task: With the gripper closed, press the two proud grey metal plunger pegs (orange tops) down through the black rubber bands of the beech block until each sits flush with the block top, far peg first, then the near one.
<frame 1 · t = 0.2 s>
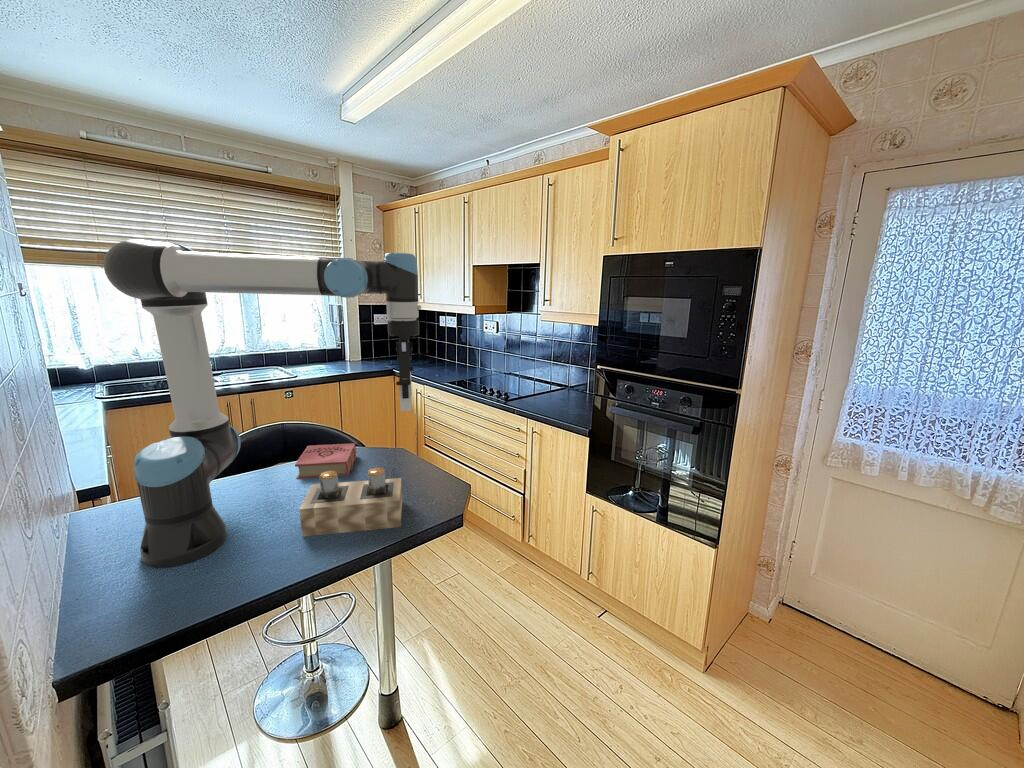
hand: (406, 402, 110), 27 cm above the table, fingers open, 13 cm apart
peg right: (377, 483, 106), point 9 cm above the table, slide at 0.0 cm
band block: (356, 517, 107), on the table
book: (329, 468, 135), on the table
peg left: (329, 487, 104), point 9 cm above the table, slide at 0.0 cm
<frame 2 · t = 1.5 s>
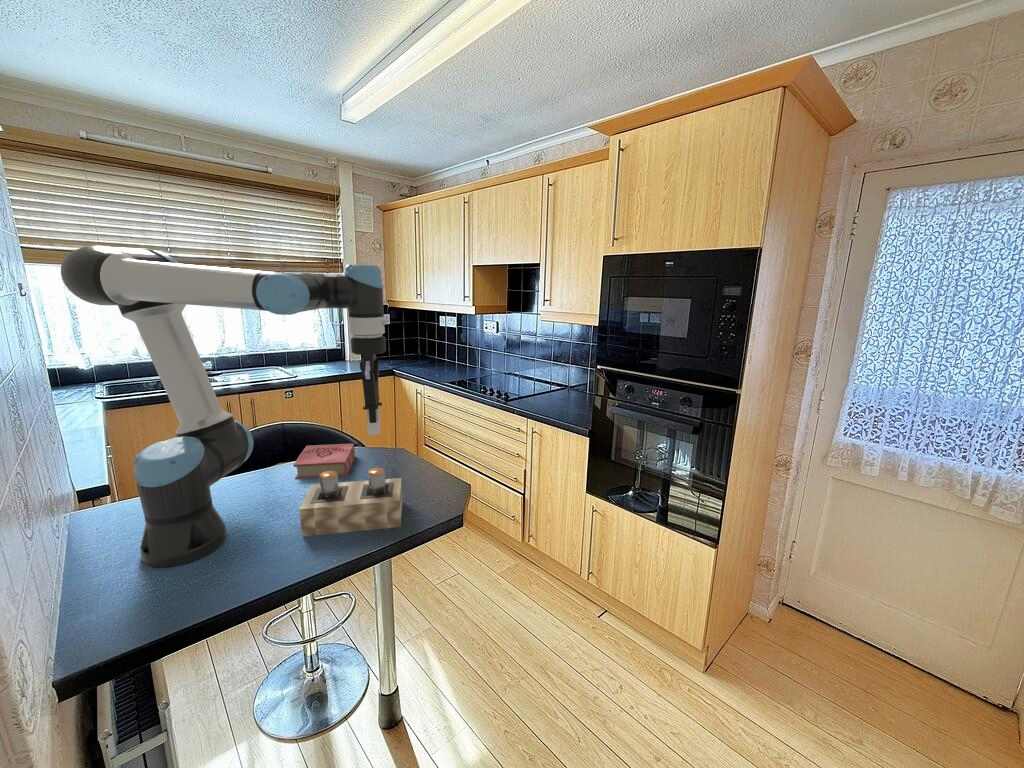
hand: (374, 433, 103), 22 cm above the table, fingers closed
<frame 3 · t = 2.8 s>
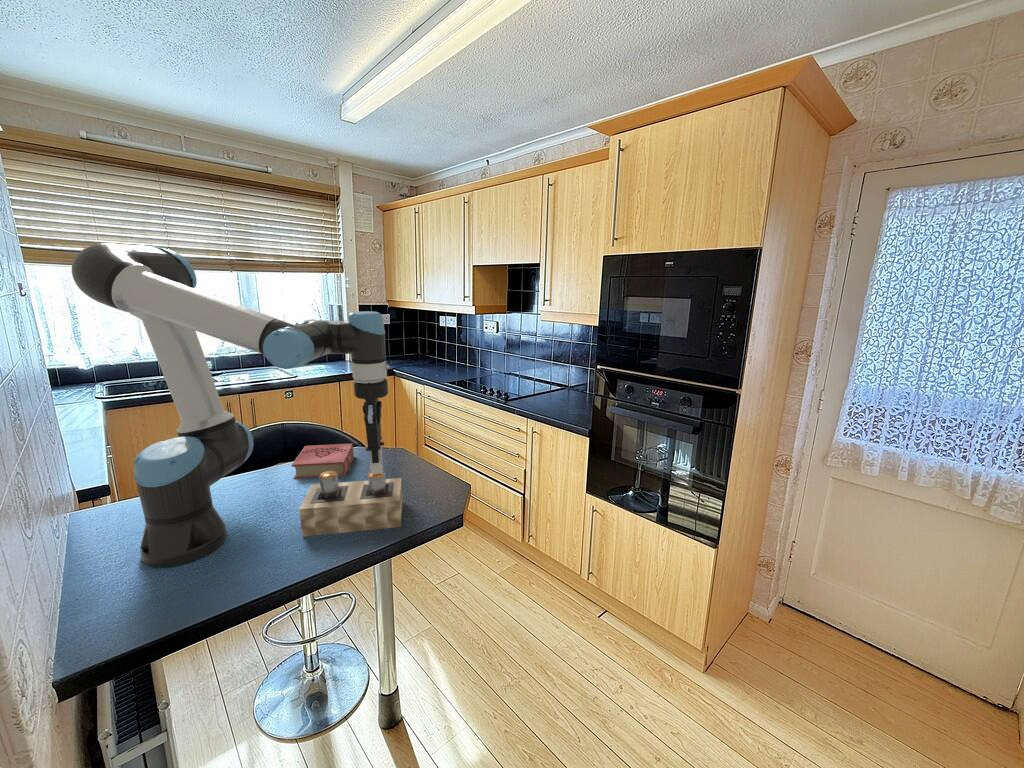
hand: (376, 472, 105), 12 cm above the table, fingers closed
peg right: (377, 486, 106), point 8 cm above the table, slide at 0.7 cm, touching gripper
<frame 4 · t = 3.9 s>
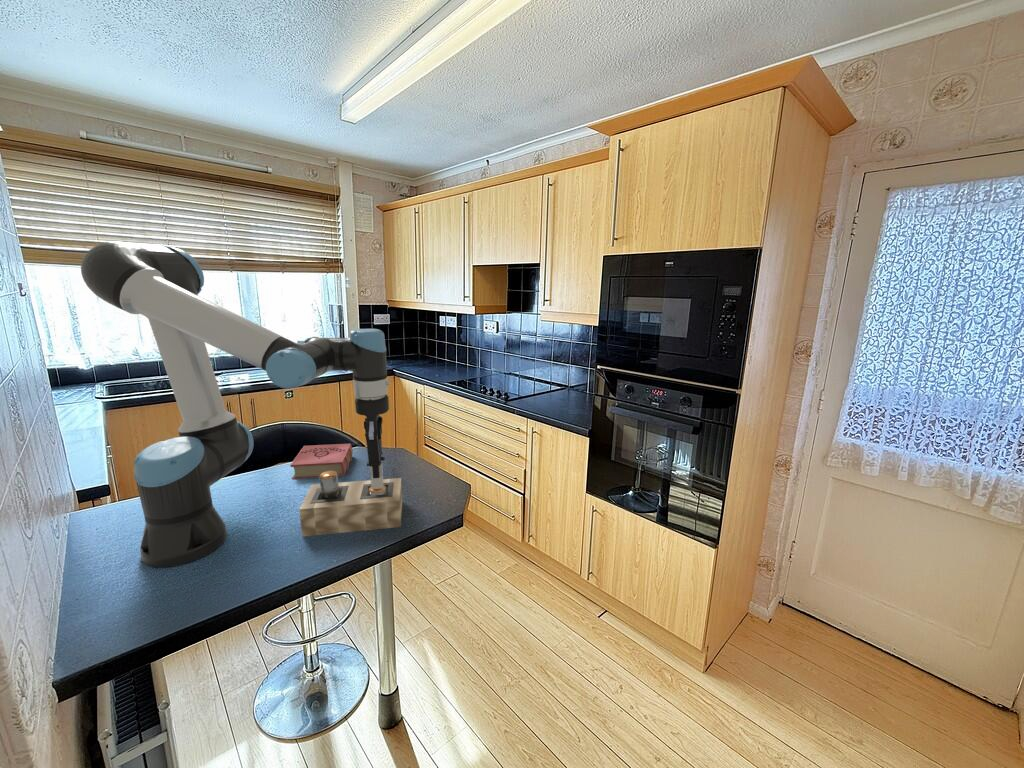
hand: (377, 487, 106), 8 cm above the table, fingers closed
peg right: (378, 500, 107), point 4 cm above the table, slide at 4.6 cm, touching gripper
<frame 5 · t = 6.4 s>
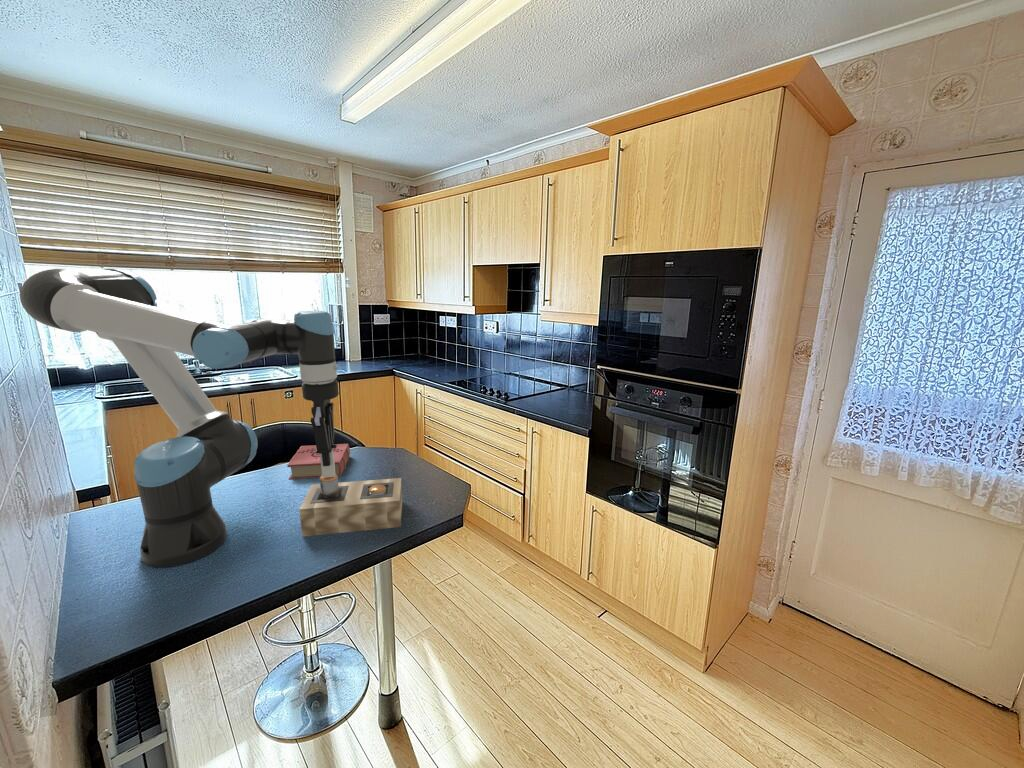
hand: (329, 476, 103), 12 cm above the table, fingers closed
peg right: (378, 500, 107), point 4 cm above the table, slide at 4.7 cm
peg left: (329, 489, 104), point 8 cm above the table, slide at 0.7 cm, touching gripper
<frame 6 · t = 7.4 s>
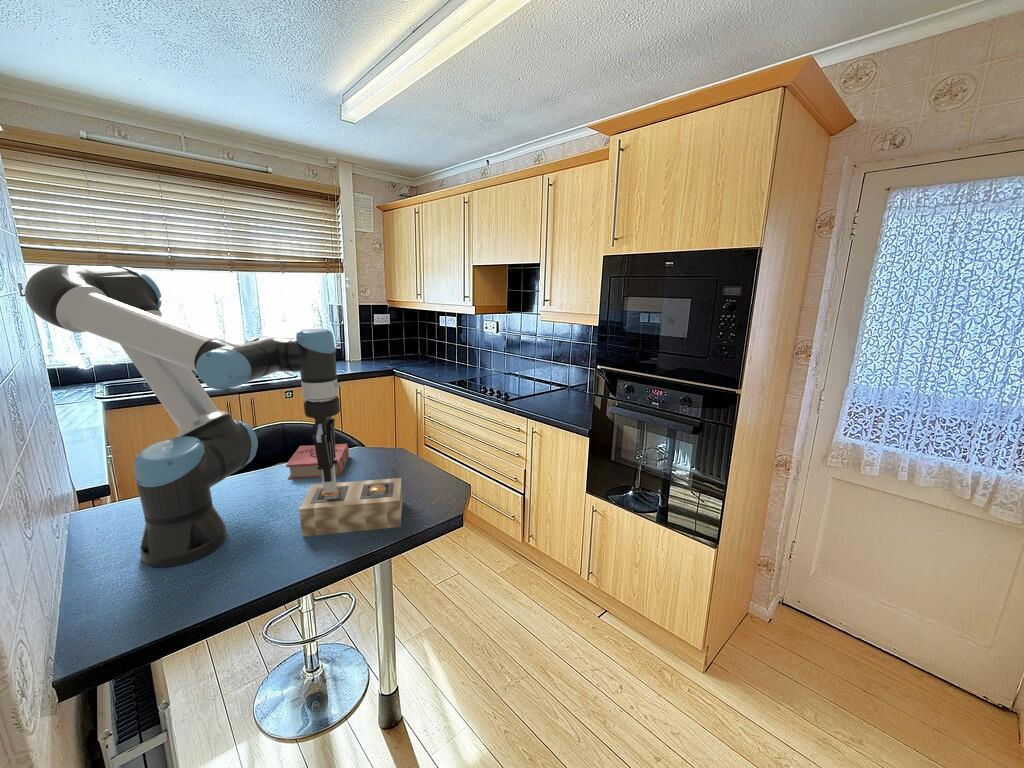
hand: (330, 491, 104), 8 cm above the table, fingers closed
peg left: (331, 504, 105), point 4 cm above the table, slide at 4.6 cm, touching gripper
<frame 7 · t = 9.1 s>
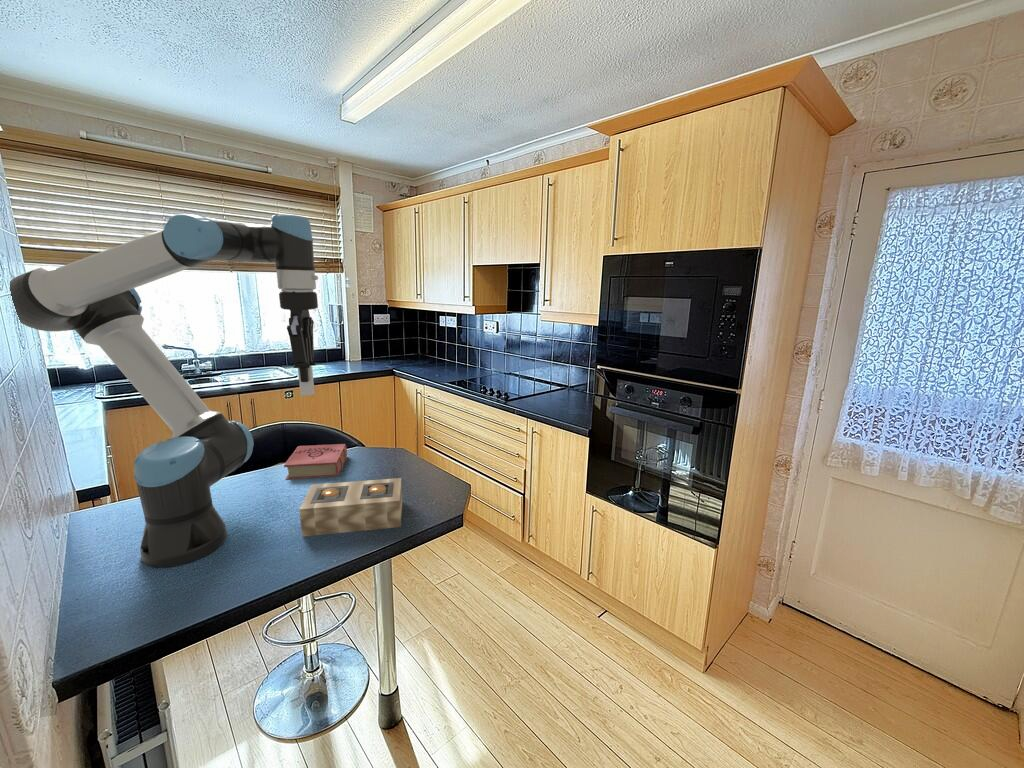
hand: (307, 394, 100), 32 cm above the table, fingers closed
peg left: (331, 504, 105), point 4 cm above the table, slide at 4.7 cm
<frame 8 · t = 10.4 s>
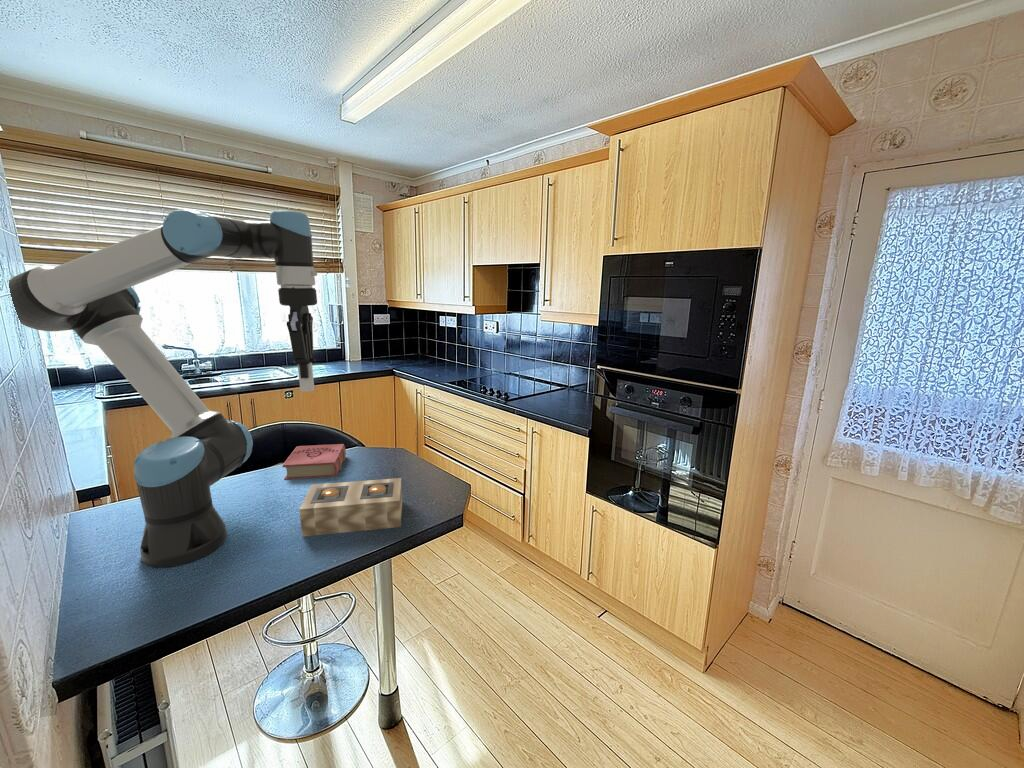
hand: (307, 390, 100), 32 cm above the table, fingers closed
at the end: peg right slide at 4.7 cm; peg left slide at 4.7 cm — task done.
